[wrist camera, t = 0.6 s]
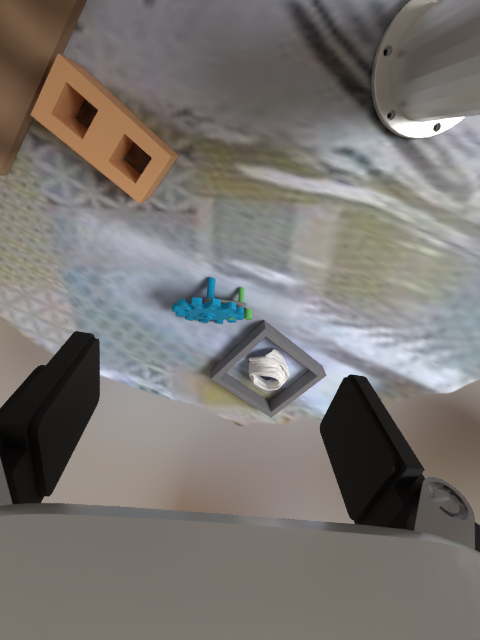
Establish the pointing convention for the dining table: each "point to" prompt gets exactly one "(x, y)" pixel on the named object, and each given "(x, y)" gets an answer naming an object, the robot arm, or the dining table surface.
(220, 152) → the dining table surface
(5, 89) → the locating board
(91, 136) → the block with square holes
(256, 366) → the whipped cream
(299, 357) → the frame
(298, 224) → the dining table surface
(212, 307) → the gear
